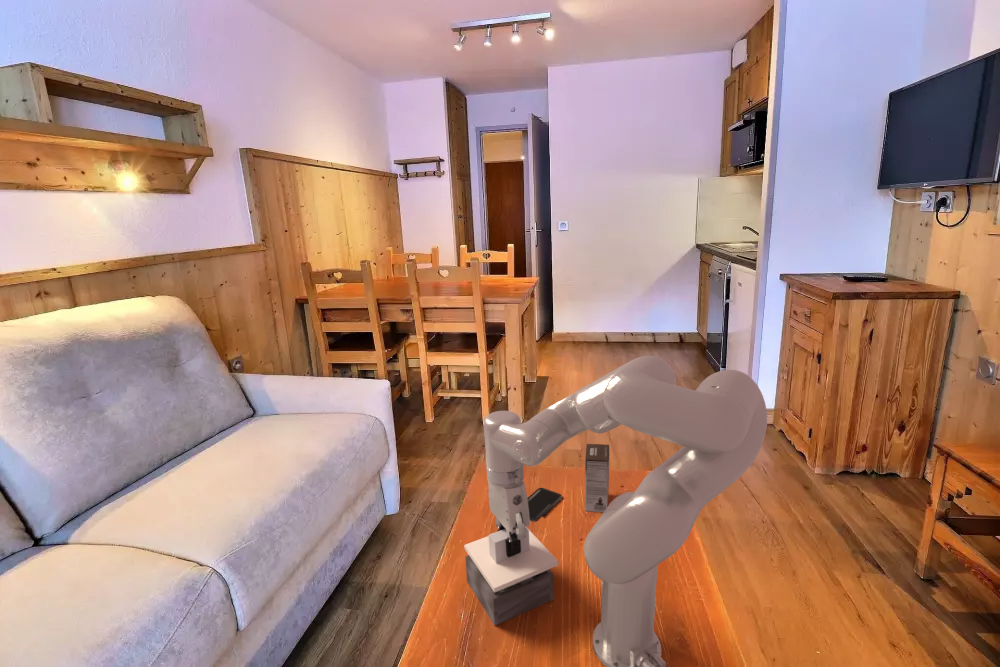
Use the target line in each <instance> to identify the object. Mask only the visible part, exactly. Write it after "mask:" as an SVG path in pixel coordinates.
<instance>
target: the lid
mask: <svg viewBox="0 0 1000 667" xmlns="http://www.w3.org/2000/svg"><path fill="white" fill-rule="evenodd" d="M523 527H524V530H525V534H526V538H524V539H521V552H520V553H519V554H516V555H514V556H511V557H507V555H506V540H507V531H506V529H503V530H500V531H495V532H492V533H490V534H488V535H487V536H485V537H482V538H479V539H477V540H474V541H472V542H469V543H466V544H463V545H464V546H463V547H464V550H465V551H466V553H467V556H468V555H469V556H470V557H471V559H472V560H473V562H474V563H475V565H476V566H477V568H478V569H479V571H480V572H481V574H482V575H483V577H484V578H485V579H486V581H487V582H488V584H489V585H490V587H491V588H492V590H493V591H494V593H495V592H497V591H499V590H502V589H504V588H506V587H509V586H511V585H513V584H516V583H518V582H520V581H523V580H525V579H528V578H530V577H532V576H535V575H537V574H539V573H542V572H544V571H546V570H551V569H553V568H555V567H556V568H557V567H558V566H559V560H558V559H557V558H556V557H555V556H554V554H552V552H551V551H549V549H548V548H547V547H546V546H545V545H544V544H543V543H542V541H540V540H539V539H538V537H536V536H535V535H534V533H532V531H531V530H530V528H528V526H527V527H526V526H525V525H524V524H523ZM515 532H516V529H514V530H513V532H511V534H513V533H515Z"/></svg>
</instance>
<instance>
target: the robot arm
mask: <svg viewBox="0 0 1000 667" xmlns="http://www.w3.org/2000/svg"><path fill="white" fill-rule="evenodd" d="M483 421H484V422H483V433H484V434H483V436H484V451H485V463H486V464H485V465H486V479H487V483H488V488H487V489H488V503H489V504H488V506H489V509H490V511H491V513H492V515H493V516H494V517H495V526H496V529H497V531H500V530H503V529H506V531H507V540H506V555H507V557H511V556H514V555H516V554H519V553H520V552H521V539H524V538H526V534H525V530H524V527H523V524H524V525H525V526H526V527H527V528H528V527H529V526H530V524H531V523H530V522H531V521H530V518H529V507H528V499H527V498H528V495H527V494H528V493H527V490H526V489H527V488H526V485H525V482H524V479H525V476H524V475H525V473H524V466H526V467H535V466H538V465H539V464H542V462H544V461H545V460H546V459H547V458H548V457H549V456H550V455H551V454H552V453H554V452H555V450H557V449H558V448H559V447H560V446H561V445H563V444H564V443H565V442H566V441H568V440H569V439H571V438H573V437H575V436H577V435H579V434H581V433H583V432H586V431H588V430H589V431H591V432H592V433H595V434H605V433H607V432H609V431H611V430H614V429H615V428H617V427H619V426H621V425H622V426H625V427H627V428H628V429H632V430H634V431H637V432H639V433H642V434H646V435H648V436H650V437H651V436H652V437H653V438H657V439H661V440H664V441H666V442H667V441H668V442H670V443H673V444H676V445H678V446H679V445H680V446H682V447H681V448H680V449H679V450H677V451H676V452H675V453H673V455H671V456H669V458H667V459H666V460H664V462H662V463H661V464H660V465H658V466H657V467H655V468H654V469H653V470H651V471H650V472H649V473H648V474H647V475H646V476H645V477H644V478H643V480H642V481H641V482H640V484H639V486H638V487H637V488H636V489H635V491H627V492H624V493H623V492H622V493H621V494H619V495H618V496H616V497H615V498H614V499H613V500H612V501H610V503H608V507H607V508H606V510H605V511H604V512H602V513H601V515H600V517H599V518H598V520H597V521H596V522H595V524H594V525H593V527H592V528H591V529H590V530H589V532H588V534H587V536H586V538H585V540H584V545H583V546H584V547H583V553H584V559H585V562H586V565H587V567H588V568H589V570H590V572H592V574H593V575H594V576H596V577H597V578H598V580H601V581H602V582H601V616H600V617H601V619H600V620H601V621H600V622H599V623H598V624H597V625H596V626H595V627H594V630H593V633H592V647H593V651H594V654H595V655H596V656H597V658H598V660H599V661H600V662H601V664H603V665H604V666H605V667H666V666H667V662H666V661H665V660H664V659H663V658H662V644H661V641H660V639H659V637H658V635H657V634H656V632H655V630H654V629H655V611H656V593H657V582H658V581H657V578H658V565H660V564H661V563H663V562H664V561H666V560H667V559H669V558H670V557H672V555H674V554H675V553H677V552H678V551H679V550H680V549H681V548H682V546H683V545H684V544H685V543H686V541H687V540H688V539H689V535H690V534H691V532H692V530H693V527H694V525H695V522H696V521H697V519H698V517H699V514H700V513H701V511H702V510H703V508H704V507H705V506H706V505H708V503H710V502H711V501H712V500H713V499H715V498H716V497H719V495H720V494H721V493H722V492H724V491H725V490H726V489H727V488H728V487H730V486H731V485H732V484H734V483H735V482H737V480H738V479H739V478H741V476H742V475H744V474H745V473H746V472H747V471H748V469H749V468H750V467H751V465H753V463H754V461H755V460H756V458H757V456H758V455H759V453H760V450H761V448H762V446H763V444H764V441H765V437H766V433H767V427H768V410H767V405H766V401H765V399H764V395H763V393H762V391H761V389H760V387H759V386H758V384H757V383H756V381H754V379H753V378H752V377H751V376H750V375H748V374H747V373H744V372H743V371H740V370H736V369H722V370H720V371H717V372H715V373H712V374H710V375H709V376H707V377H706V378H705V379H703V380H702V382H700V384H699V385H698V386H697V387H696V389H691V388H686V387H683V386H679V385H677V379H676V374H675V372H674V368H672V366H671V364H669V362H667V361H666V360H665V359H663V358H661V357H659V356H657V355H642V356H639V357H636V358H634V359H632V360H630V361H628V362H626V363H624V364H622V365H621V366H619V367H617V368H615V369H613V370H612V371H610V372H608V373H606V374H605V375H603V376H601V377H599V378H597V379H596V380H594V381H592V382H590V383H588V384H587V385H585V386H583V387H581V388H580V389H578V390H576V391H575V392H573V393H571V394H570V395H568V396H566V397H564V398H562V399H561V400H558V401H556V402H555V403H553V404H552V405H550V406H548V407H547V408H544V409H543V410H542V411H540V412H538V413H536V414H535V415H534V416H533V417H531V418H530V419H529V420H527V421H526V422H522V420H521V417H520V416H519V415H518V414H517V413H516V412H514V411H510V410H497V411H493V412H491V413H489V414H488V415H486V417H485V418H484V420H483ZM514 529H516V532H515V533H513V534H511V532H513V530H514ZM497 531H496V532H497Z"/></svg>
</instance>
